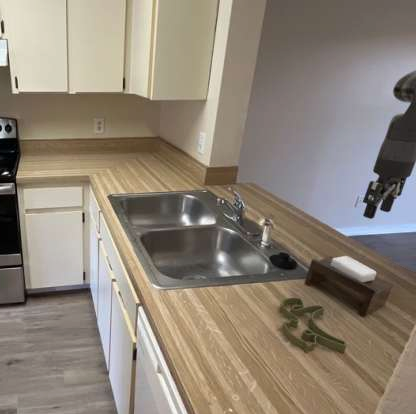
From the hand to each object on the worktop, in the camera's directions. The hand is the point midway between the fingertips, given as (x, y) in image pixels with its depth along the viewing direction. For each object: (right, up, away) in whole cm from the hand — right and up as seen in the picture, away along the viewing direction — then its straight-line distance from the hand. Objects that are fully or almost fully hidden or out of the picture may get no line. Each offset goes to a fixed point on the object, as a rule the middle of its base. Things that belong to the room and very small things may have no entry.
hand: (376, 214), depth 91 cm
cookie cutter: (-24, -28, -8) cm, 38 cm away
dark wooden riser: (-6, -23, +4) cm, 24 cm away
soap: (-6, -17, +1) cm, 18 cm away
